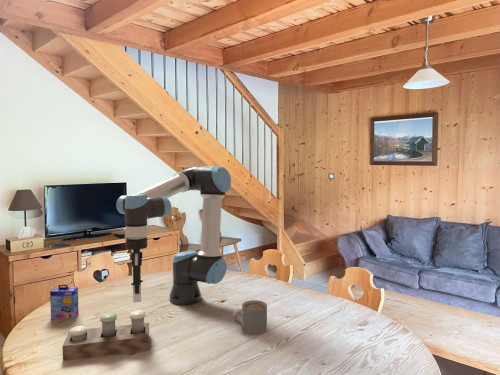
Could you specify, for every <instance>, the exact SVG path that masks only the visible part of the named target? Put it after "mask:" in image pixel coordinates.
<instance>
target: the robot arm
mask: <svg viewBox="0 0 500 375" xmlns="http://www.w3.org/2000/svg"><path fill="white" fill-rule="evenodd" d="M231 186H232V178H231V174H230V172H229V171H228V169H227V168H226V167H224V166H220V165H219V166H217V165H208V166H207V165H204V166H203V165H196V166H191V167H189V168H185V169H183V170H181V171H179V172H177V173H175V174H174V175H173V177H170V178H168V179H166V180H164V181H161V182H159V183H157V184H154V185H152V186H150V187H148V188H146V189H142V190H140V191H139V192H135V193H129V194H127V195H121V196H119V197H118V199H117V200H116V204H115V205H116V206H115V207H116V210H117V212H118V213H119V214H122V215H124V216H125V219H124V220H125V227H124V228H123V232H125V237H126V238H125V248H126V249H127V250H131V251H132V252H130V260H131V266H132V282H130V283H131V284H130V285H131V286H132V301H133V302H132V303H141V302H142V283H144V281H143V279H142V276H141V273H142V272H141V271H142V270H141V267H142V264H143V251H141V250H145V249H146V248H147V247H148V235H149V234H148V232H149V231H148V220H149V219H155V218H163V217H167V216H168V215H169V214H170V213H171V211H172V202H171V201H170V199H169V198H172V197H173V196H175V195H177V194H179V193H187V192H188V191H199V193H200V196H201V198H202V199H203V200H202V217H201V218H202V219H201V234H200V236H201V237H200V238H201V239H200V250H199V251H197V250H185V251H180V252H177V253H175V254H174V255H173V257H172V287H171V290H170V292H169V302H170V303H172V304H175V305H178V306H179V305H180V306H183V305H184V306H185V305H187V306H188V305H193V304H196V303H198V302H200V301H201V300H202V292H201V290H200V289H201V288H200V286H199V283H198V282H200V283H204V284H205V283H206V284H210V285H211V284H212V285H217V284H220V282H221V281H222V280H223V279H224V278H225V276H226V273H227V270H228V269H227V267H228V266H227V262H226V260H225V259H224V258H223V253H222V252H221V251H220V240H221V224H222V223H221V220H222V205H223V204H222V200H223V199H224V198H225V197H226V193H227V192H229V190H230V188H231Z"/></svg>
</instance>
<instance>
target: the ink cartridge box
mask: <svg viewBox="0 0 500 375" xmlns="http://www.w3.org/2000/svg"><path fill="white" fill-rule="evenodd" d="M49 296H50V298H49V299H50V320H61V319H63V320H66V319H72V320H73V319H75V318H76V317H77V316H78V315H79V314H80V313H79V312H80V308H79V287H78V286H68V285H67V284H58V286H57V287H54V288H52V289H51V290H50V291H49Z"/></svg>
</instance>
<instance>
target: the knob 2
mask: <svg viewBox="0 0 500 375" xmlns="http://www.w3.org/2000/svg"><path fill="white" fill-rule="evenodd" d="M146 313H147V311H145V310H142V309H136V310H132V311H131V312H130V313H129V319H131V324H132V334H139V333H143V332H144V323H145V318H146Z"/></svg>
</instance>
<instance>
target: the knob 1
mask: <svg viewBox="0 0 500 375" xmlns="http://www.w3.org/2000/svg"><path fill="white" fill-rule="evenodd" d="M87 329H88V327H87V326H85V325H78V326H74V327H71V328H70V329H69V331H70V335H71V336H72V341H73V340H83V339H86V337H85V333H87Z"/></svg>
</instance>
